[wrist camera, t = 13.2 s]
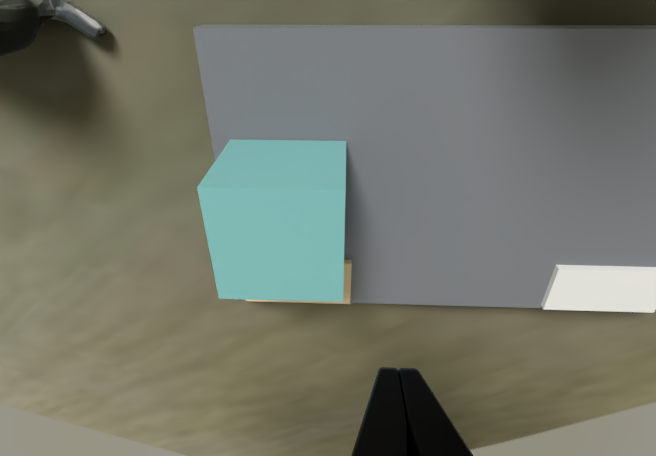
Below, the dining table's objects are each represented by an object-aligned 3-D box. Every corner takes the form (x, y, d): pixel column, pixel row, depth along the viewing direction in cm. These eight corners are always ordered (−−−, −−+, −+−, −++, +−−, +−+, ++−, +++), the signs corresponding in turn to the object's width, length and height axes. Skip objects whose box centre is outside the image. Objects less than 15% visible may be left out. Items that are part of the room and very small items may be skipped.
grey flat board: (796, 25, 14) (836, 30, 12) (645, 296, 20) (663, 315, 19) (202, 24, 14) (189, 29, 13) (241, 286, 21) (236, 303, 20)
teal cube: (346, 141, 15) (345, 190, 12) (344, 238, 18) (343, 301, 14) (230, 139, 15) (197, 187, 12) (243, 236, 18) (218, 298, 14)
